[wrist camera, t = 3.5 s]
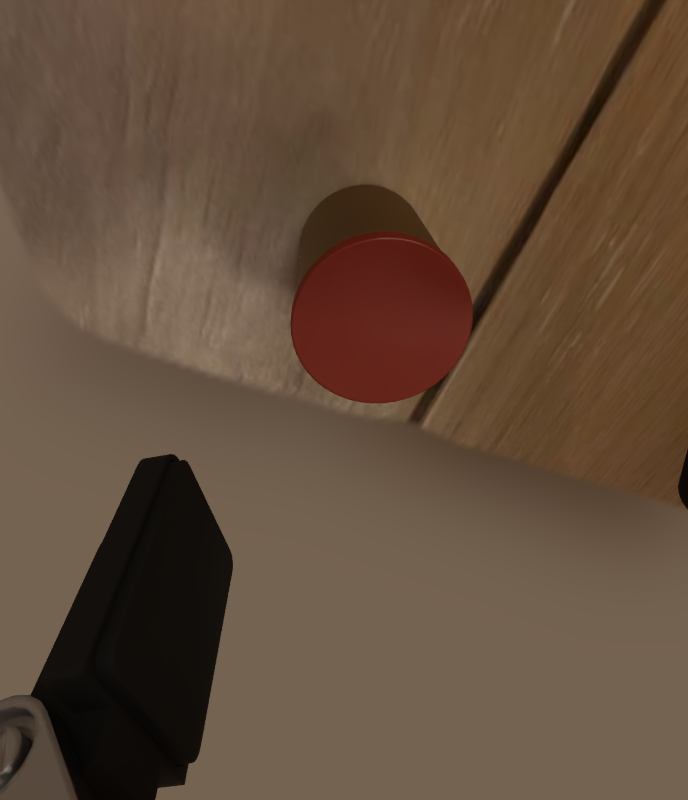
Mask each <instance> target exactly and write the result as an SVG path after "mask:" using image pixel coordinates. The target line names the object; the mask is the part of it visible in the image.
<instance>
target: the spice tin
mask: <svg viewBox="0 0 688 800" xmlns="http://www.w3.org/2000/svg"><path fill="white" fill-rule="evenodd" d="M472 321H473V308H472V300H471V296H470V292H469V289H468V287H467V284H466V282H465V280H464V278H463V277H462V275H461V273H460V272H459V270H458V269H457V267H456V266H455V264H454V263H453V262H452V261H451V260H450V258H449V257H448V256H447V255H446V254H445V253H443V252H442V251H441V250H440V248H439V247H438V245H437V244H436V242H435V241H434V239H433V238H432V236H431V235H430V233H429V232H428V230H427V229H426V227H425V226H424V224H423V223H422V221H421V220H420V218H419V216H418V215H417V213H416V212H415V210H414V209H413V208H412V207H411V205H410V204H409V203H408V202H407V201H406V200H405V199H403V198H402V197H401V196H399V195H398V194H396V193H395V192H393V191H390V190H388V189H386V188H382V187H379V186H373V185H357V186H351V187H347V188H344V189H341V190H339V191H337V192H335V193H333V194H331V195H330V196H328V197H327V198H326V199H324V200H323V201H322V202H321V203H320V204H319V205H318V206H317V207H316V208H315V209H314V211H313V212H312V213H311V215H310V216H309V218H308V220H307V222H306V224H305V226H304V229H303V232H302V236H301V241H300V253H299V266H298V280H297V291H296V293H295V297H294V301H293V305H292V314H291V336H292V341H293V345H294V348H295V351H296V354H297V356H298V358H299V360H300V362H301V364H302V365H303V367H304V368H305V369H306V371H307V372H308V373H309V374H310V376H311V377H312V378H313V379H314V380H315V381H316V382H318V383H319V384H320V385H321V386H323V387H324V388H326V389H327V390H329V391H330V392H332V393H334V394H336V395H338V396H341V397H343V398H346V399H349V400H353V401H358V402H364V403H388V402H395V401H399V400H403V399H406V398H409V397H412V396H415V395H417V394H419V393H421V392H423V391H425V390H427V389H428V388H430V387H432V386H433V385H435V384H436V383H437V382H438V381H440V380H441V379H442V378H443V377H444V376H445V375H446V374H447V373H448V372H449V371H450V370H451V369H452V368H453V367H454V365H455V364H456V363H457V361H458V360H459V358H460V357H461V355H462V354H463V351H464V349H465V347H466V345H467V342H468V339H469V336H470V333H471V327H472Z"/></svg>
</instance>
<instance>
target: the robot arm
mask: <svg viewBox="0 0 688 800" xmlns="http://www.w3.org/2000/svg"><path fill="white" fill-rule="evenodd" d="M678 490H679V495H680V498H681V500H682V502H683V503H684V505H685V506H686V508H687V509H688V450H687V454H686V457H685V461H684V465H683V469H682V473H681V476H680V480H679V485H678ZM232 570H233V560H232V554H231V551H230V549H229V547H228V545H227V543H226V541H225V539H224V536H223V534H222V532H221V530H220V528H219V526H218V524H217V522H216V520H215V518H214V515H213V513H212V511H211V509H210V507H209V505H208V503H207V501H206V499H205V497H204V495H203V492H202V490H201V488H200V487H199V484H198V482H197V480H196V478H195V476H194V474H193V472H192V469H191V467H190V466H189V464H188V462H187V461H185V460H181V461H179V459H178V458H177V457H176V456H175V455H172V454H169V455H163V456H158V457H151V458H146V459H143V460H141V461H140V462H139V464H138V466H137V468H136V470H135V473H134V474H133V477H132V479H131V481H130V483H129V485H128V487H127V490H126V492H125V494H124V496H123V498H122V500H121V502H120V505H119V507H118V509H117V511H116V514H115V516H114V518H113V520H112V522H111V524H110V526H109V529H108V531H107V533H106V535H105V537H104V539H103V542H102V543H101V545H100V547H99V548H98V550H97V553H96V555H95V557H94V559H93V561H92V563H91V566H90V568H89V570H88V572H87V574H86V576H85V579H84V581H83V583H82V585H81V587H80V589H79V591H78V594H77V596H76V598H75V600H74V602H73V604H72V607H71V609H70V611H69V613H68V615H67V617H66V620H65V622H64V624H63V626H62V628H61V630H60V633H59V635H58V637H57V639H56V641H55V643H54V646H53V648H52V650H51V652H50V654H49V657H48V659H47V661H46V663H45V665H44V667H43V670H42V672H41V674H40V676H39V678H38V680H37V682H36V685H35V687H34V689H33V691H32V693H31V695H18V696H11V697H9V698H6V699H3V700H0V800H155V798H156V793H157V789H158V788H160V787H169V786H178V785H184V784H185V779H186V773H187V769H188V764H189V763H193V762H195V760H196V759H197V757H198V754H199V751H200V747H201V741H202V736H203V731H204V725H205V720H206V714H207V709H208V703H209V697H210V691H211V686H212V680H213V675H214V669H215V664H216V659H217V653H218V648H219V642H220V636H221V631H222V626H223V619H224V614H225V609H226V604H227V598H228V592H229V587H230V581H231V576H232Z"/></svg>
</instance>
